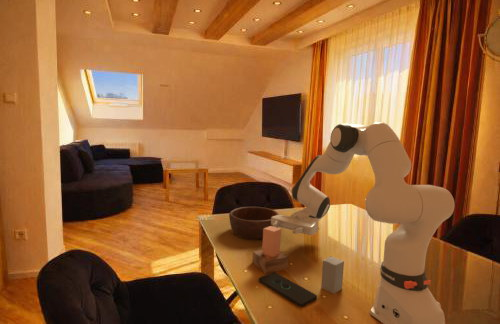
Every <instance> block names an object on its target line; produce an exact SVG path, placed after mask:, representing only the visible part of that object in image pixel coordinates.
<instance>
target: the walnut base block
mask: <svg viewBox="0 0 500 324" xmlns="http://www.w3.org/2000/svg"><path fill="white" fill-rule="evenodd" d="M252 264H253V265H255V267H257V268H258V269H260V271H261V272H263V273H264V274H270V273H273V272H277V271H282V270H287V269H288V266H289V256H288V255H286V254H285V253H283V252H282V251H280V254H278V255H276V256H274V257H270V256H267V255H264V254H262V249H259V250H254V251H253V250H252Z"/></svg>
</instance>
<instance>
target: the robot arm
mask: <svg viewBox="0 0 500 324" xmlns="http://www.w3.org/2000/svg"><path fill="white" fill-rule="evenodd" d="M329 138H330V139H329V140H330V141H329V143H328V145H327V146H326V149H325V151H324V152H323V154H319V155H317V156H315V157H314V158H313V159H312V160H311V161H310V163H309V164H308V165H307V167H306V169H305V170H304V172H303V173H302V174H301V176H300V178H299V179H298V180H297V181H296V183H295V184H294V185H293V187H292V189H291V196H292V199H294V200H296V201H297V202H298V203H300V204H302V205H303V207H304V208H302V209H299V210H296V211H295V212H293V213H292V214H290V215H286V214H279V215H276V216H273V217H271V225H273V227H276V228H280V229H285V230H289V231H292V234H295V235H297V234H304V235H307V236H314V235H315V234H316V233H318V230H319V229H318V228H319V222H320V220H322V218H324V217H325V215H326V214H327V213H328V211H329V210H330V208H331V201H330V197H329V196H328V195H326V194H325V193H324V192H322V191H320V190H319V189H318V188H317V187H315V186H313V185H312V183H311V180H312V179H313V178H314V176H315V175H316V173H317V172H320V173H323V174H326V175H340V174H343V172H346V170H347V169H348V167H349V166H350V165H351V162H352V160H353V159H354V155H356V156H366V157H367V158H368V160H369V163H370V165H371V167H372V171H373V173H374V185H373V187H372V188H371V189H370V190H368V192H367V194H366V196H365V200H364V207H365V211H366V212H367V215H368V216H369V217H370V219H372V220H373V221H375V222H379V223H385V224H389V225H390V224H391V225H392V224H395V225H396V224H399V225H398V227H397V228H396V229H395V230H394V231H393V232H391V233H390V234H388V236H387V237H386V238H385V240H384V248H383V259H382V262H381V264H380V265H381V266H380V280H379V283H378V285H377V287H376V291H375V297H374V301H373V305H372V307H371V309H370V312H369V313H370V315H371V316H373V318H375V319H377V320H378V321H379V322H381V324H446V318H445V317H446V316H445V313H444V310H443V309H442V305H441V303H440V302H438V301H437V300H436V298H435V297H434V295H433V294H432V292H431V291H430V289H429V288H428V287H429V285H431V282H432V279H431V280H430V279H427V274H426V271H425V265H426V257H427V252H428V247H429V244H430V243H431V239H432V237H433V236H434V234H435V233H436V231H437V229H438V228H439V227H440V226H441V225H442V223H443V222H445V221H446V220H447V219H450V217H451V216H452V215H453V213H454V211H455V204H456V203H455V199H454V197H453V195H452V193H451V192H450V191H449V190H448V189H446V188H444V187H441V186H438V185H433V184H408V183H407V182H406V181H405V179H404V178H406V177H407V176H408V175H409V173H410V172H411V169H412V160H411V159H410V157H409V155H408V153H407V151H406V149H405V147H404V145H403V143H402V141H401V140H400V137H398V135H397V134H396V132H395V131H394V130H393V129H392V128H391V126H390V125H389V124H388V123H385V122H381V121H380V122H379V121H377V122H374V123H372V124H370V125H364V124H357V123H356V124H354V123H339V124H336V125H335V126H334V128H333V129H332V130H331V133H330V137H329Z"/></svg>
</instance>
